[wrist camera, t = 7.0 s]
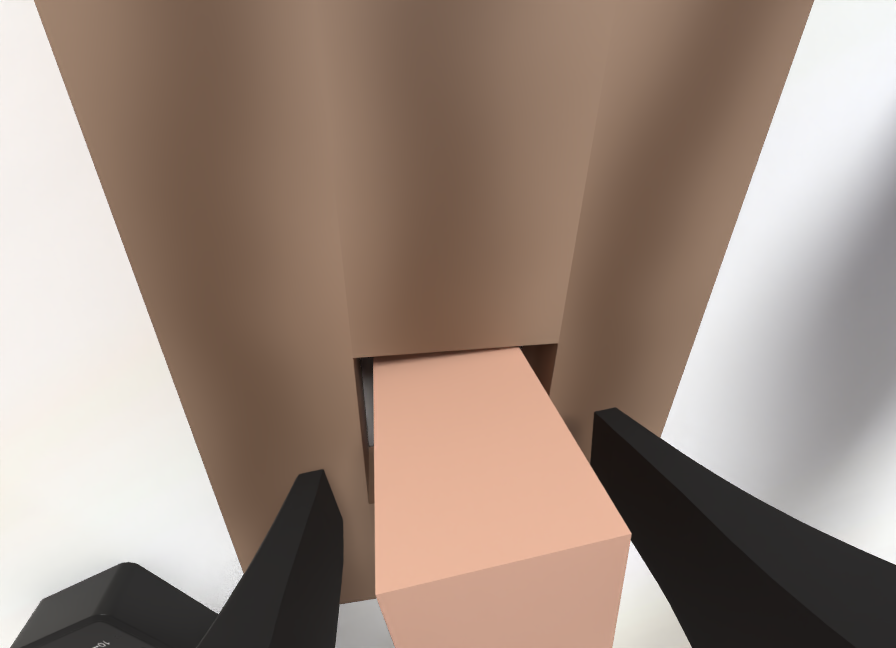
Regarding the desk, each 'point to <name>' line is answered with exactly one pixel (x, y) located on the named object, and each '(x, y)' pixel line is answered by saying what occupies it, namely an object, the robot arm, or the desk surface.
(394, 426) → the pin
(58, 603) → the multiport hub
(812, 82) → the desk surface
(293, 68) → the pin plate
